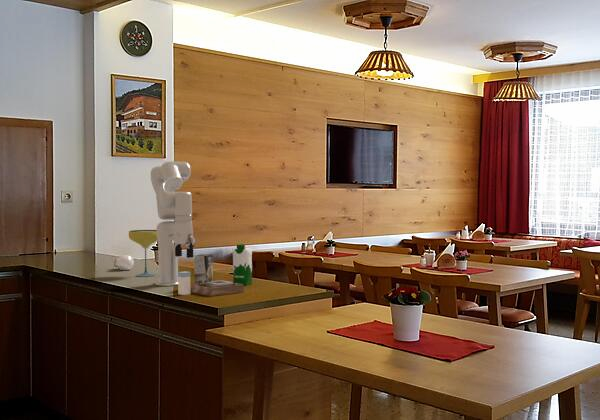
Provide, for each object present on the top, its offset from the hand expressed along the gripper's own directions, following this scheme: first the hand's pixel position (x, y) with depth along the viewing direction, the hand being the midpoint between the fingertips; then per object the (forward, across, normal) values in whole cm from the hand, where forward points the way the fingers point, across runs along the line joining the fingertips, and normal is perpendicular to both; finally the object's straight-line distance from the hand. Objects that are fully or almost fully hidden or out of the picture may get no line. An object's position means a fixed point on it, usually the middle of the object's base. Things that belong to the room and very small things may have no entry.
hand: (184, 256), depth 303 cm
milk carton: (+17, -8, +38) cm, 42 cm away
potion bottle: (+16, -109, +24) cm, 112 cm away
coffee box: (+17, -11, +17) cm, 26 cm away
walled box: (+17, +5, +14) cm, 23 cm away
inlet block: (+17, +5, +15) cm, 23 cm away
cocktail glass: (+16, -74, +20) cm, 78 cm away
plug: (+17, -1, 0) cm, 17 cm away
